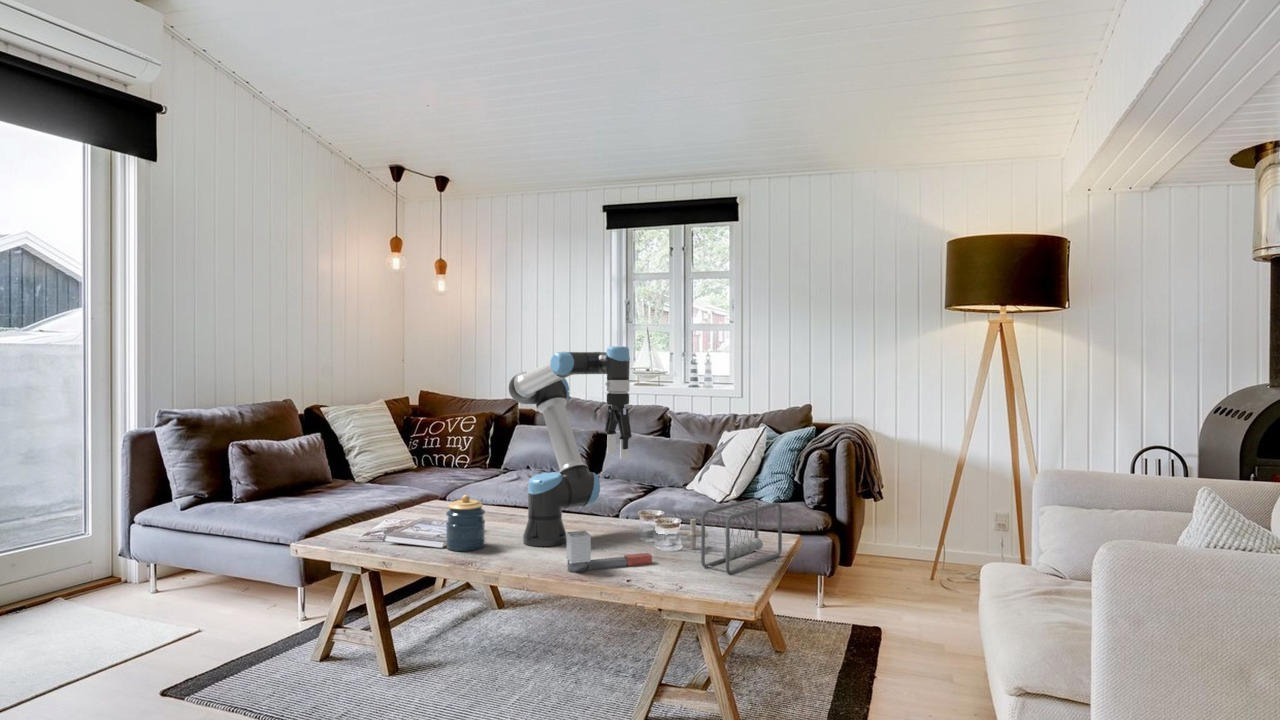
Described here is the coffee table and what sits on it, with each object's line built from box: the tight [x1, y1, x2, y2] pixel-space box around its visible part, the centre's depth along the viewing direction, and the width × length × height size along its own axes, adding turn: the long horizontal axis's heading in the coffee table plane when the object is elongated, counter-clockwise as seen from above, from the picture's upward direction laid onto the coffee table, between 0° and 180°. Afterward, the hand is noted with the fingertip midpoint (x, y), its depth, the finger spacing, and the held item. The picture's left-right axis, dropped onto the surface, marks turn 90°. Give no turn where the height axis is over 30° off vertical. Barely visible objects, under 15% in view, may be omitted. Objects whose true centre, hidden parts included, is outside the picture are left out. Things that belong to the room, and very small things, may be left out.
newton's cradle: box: [700, 498, 783, 575], centre depth 233 cm, size 30×10×18 cm, turn 137°
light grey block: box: [565, 530, 592, 563], centre depth 224 cm, size 6×6×8 cm
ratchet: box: [567, 552, 653, 574], centre depth 228 cm, size 6×27×8 cm, turn 110°
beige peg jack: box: [677, 518, 709, 550], centre depth 248 cm, size 10×10×10 cm
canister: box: [445, 494, 486, 552], centre depth 250 cm, size 13×13×18 cm
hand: (617, 456), depth 245 cm, fingers open, 13 cm apart
